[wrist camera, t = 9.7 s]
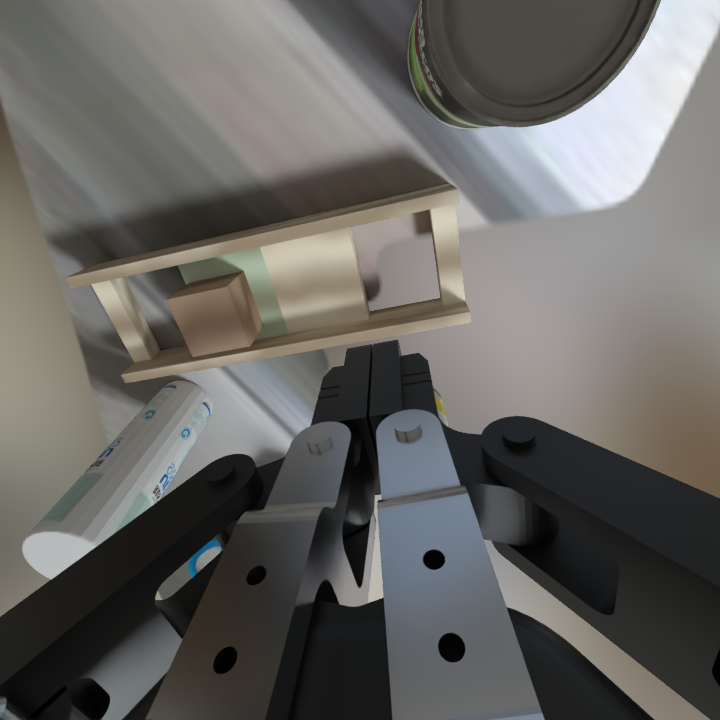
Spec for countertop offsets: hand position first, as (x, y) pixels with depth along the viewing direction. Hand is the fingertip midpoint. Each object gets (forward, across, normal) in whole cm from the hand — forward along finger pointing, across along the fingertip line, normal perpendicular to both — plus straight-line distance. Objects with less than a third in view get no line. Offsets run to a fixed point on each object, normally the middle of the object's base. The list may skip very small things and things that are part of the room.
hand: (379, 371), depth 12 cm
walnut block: (+25, +16, +4) cm, 30 cm away
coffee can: (+27, -9, -10) cm, 30 cm away
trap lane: (+27, +11, +4) cm, 29 cm away
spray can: (+27, +26, +15) cm, 41 cm away
